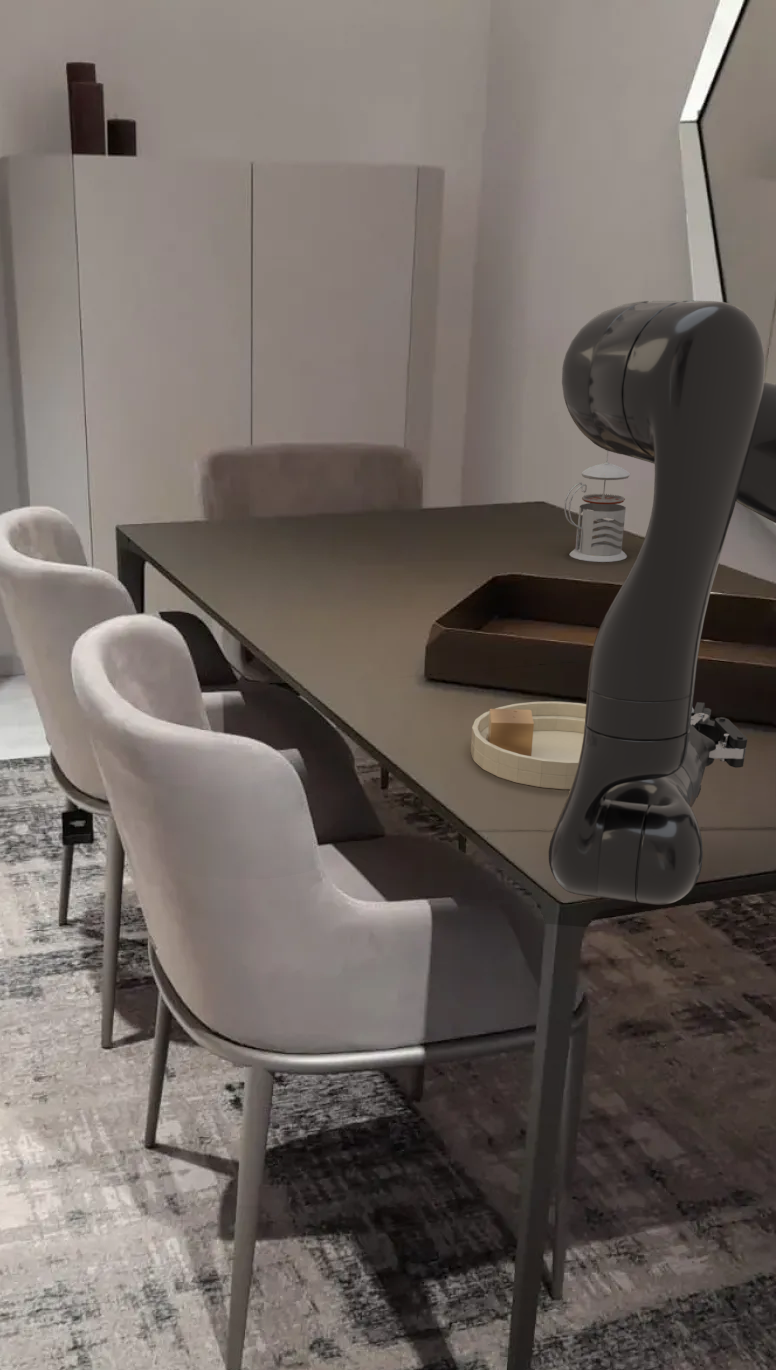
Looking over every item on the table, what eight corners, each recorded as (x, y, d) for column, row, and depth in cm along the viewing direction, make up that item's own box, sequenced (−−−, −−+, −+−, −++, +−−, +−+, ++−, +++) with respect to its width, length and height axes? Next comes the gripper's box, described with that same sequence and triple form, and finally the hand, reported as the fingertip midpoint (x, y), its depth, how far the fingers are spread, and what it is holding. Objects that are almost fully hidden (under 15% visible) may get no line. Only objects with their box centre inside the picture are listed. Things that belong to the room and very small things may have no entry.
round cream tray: (627, 729, 158) (630, 700, 157) (670, 793, 141) (674, 761, 140) (461, 731, 158) (462, 702, 157) (483, 794, 141) (485, 763, 140)
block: (528, 748, 152) (531, 709, 150) (530, 762, 148) (534, 723, 146) (487, 747, 152) (489, 708, 150) (488, 761, 148) (491, 722, 146)
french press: (637, 559, 233) (654, 405, 222) (574, 564, 231) (588, 408, 220) (611, 547, 242) (625, 398, 231) (550, 551, 239) (562, 401, 228)
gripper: (751, 740, 107) (764, 679, 122) (571, 719, 112) (604, 662, 126) (737, 828, 111) (751, 758, 125) (563, 804, 115) (595, 739, 130)
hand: (677, 710), depth 126 cm, fingers closed on rook chess piece, 3 cm apart
